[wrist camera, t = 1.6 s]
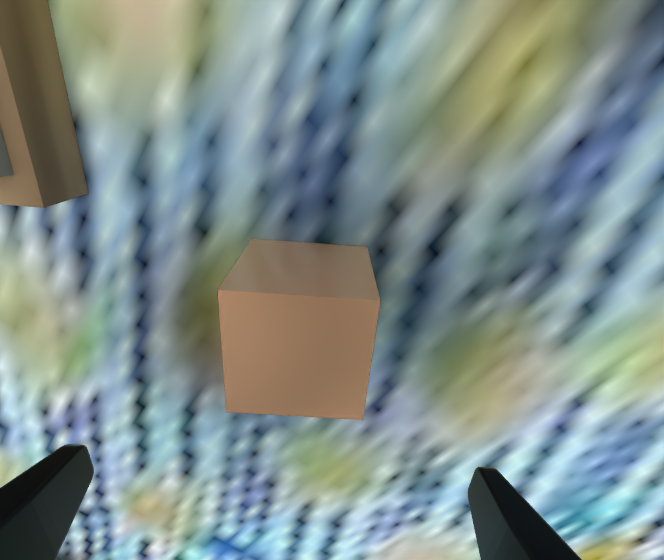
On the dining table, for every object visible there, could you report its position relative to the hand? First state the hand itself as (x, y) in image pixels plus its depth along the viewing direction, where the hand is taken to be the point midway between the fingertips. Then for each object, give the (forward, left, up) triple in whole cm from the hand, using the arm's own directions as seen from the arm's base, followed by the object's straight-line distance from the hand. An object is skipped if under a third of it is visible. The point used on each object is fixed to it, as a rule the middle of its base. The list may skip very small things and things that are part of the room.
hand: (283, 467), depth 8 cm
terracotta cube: (0, 0, -9) cm, 9 cm away
